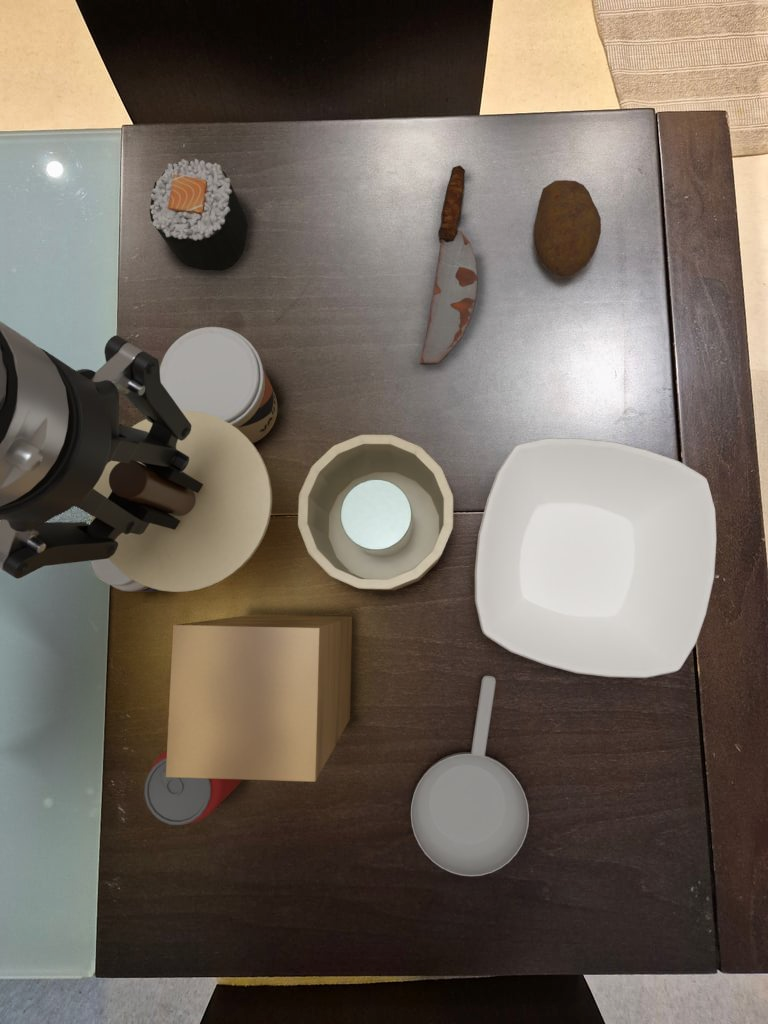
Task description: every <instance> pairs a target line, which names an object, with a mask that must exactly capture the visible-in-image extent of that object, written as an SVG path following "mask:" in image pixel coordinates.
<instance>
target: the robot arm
mask: <svg viewBox="0 0 768 1024" xmlns="http://www.w3.org/2000/svg"><path fill="white" fill-rule="evenodd" d="M104 357H105V363H103V365H101V367H100V368H99V369H98V370H96V371H94V370H92V369H88V368H81V369H77V370H76V369H74V368H73V367H71V366H70V365H68V364H66V363H65V362H63V361H62V360H61V359H59V358H57V357H55V356H54V355H53V354H51V353H49V352H48V351H46V350H45V349H44V348H41V347H39V346H38V345H37V344H35V343H34V342H33V341H31V340H30V339H29V338H27V337H26V336H24V335H23V334H21V333H19V332H18V331H17V330H15V329H13V328H12V327H10V326H9V325H7V324H6V323H4V322H2V321H1V320H0V569H1V570H2V571H3V572H5V573H7V574H8V575H10V576H11V577H13V578H14V579H16V580H17V579H18V580H19V579H22V578H23V577H25V576H27V575H29V574H32V573H34V572H36V571H38V570H39V569H41V568H43V567H48V566H55V565H64V564H65V565H66V564H73V563H83V562H90V561H92V560H101V559H108V558H110V557H111V556H113V555H114V553H115V552H116V549H117V547H118V542H116V541H115V539H116V538H117V537H118V536H119V535H120V534H121V533H124V534H129V533H134V534H138V535H140V534H142V533H144V531H145V530H146V528H147V527H148V525H149V524H150V523H151V524H155V525H159V526H163V527H166V528H170V529H174V530H175V529H176V528H177V526H178V524H179V523H180V520H178V519H177V518H175V517H173V516H172V515H170V514H168V513H166V512H163V511H160V510H157V509H154V508H151V507H148V506H144V505H141V504H138V503H135V502H132V501H129V500H126V499H123V498H120V497H118V496H117V495H115V494H114V493H113V492H111V494H110V495H109V497H108V499H107V498H106V497H105V496H103V495H102V494H100V493H99V492H97V491H96V490H94V489H93V488H94V486H95V485H96V484H97V482H98V481H99V479H100V477H101V475H102V473H103V471H104V469H105V467H106V465H107V463H108V462H110V461H117V462H123V463H129V461H130V460H131V461H137V462H141V463H142V464H144V465H145V466H147V467H149V468H151V469H153V470H154V471H155V472H157V473H159V474H160V475H162V476H164V477H165V478H167V479H169V480H171V481H173V482H175V483H177V484H179V485H182V486H184V487H186V488H188V489H190V490H192V491H194V492H197V493H198V492H199V491H200V489H201V488H202V486H203V484H202V483H200V482H199V481H197V480H195V479H194V478H192V477H191V476H189V475H187V474H186V473H184V472H182V471H183V470H184V469H185V468H186V466H187V465H188V463H189V457H188V456H187V455H185V454H183V453H182V452H180V451H179V450H177V449H176V444H177V441H178V439H179V440H181V441H182V440H184V439H185V438H186V437H187V436H188V435H189V434H190V431H191V424H190V422H189V421H188V420H187V418H186V417H185V415H184V414H183V413H182V411H181V410H180V408H179V407H178V406H177V404H176V403H175V402H174V400H173V399H172V397H171V396H170V395H169V393H168V392H167V390H166V389H165V388H164V386H163V385H162V383H161V380H160V361H159V359H158V358H157V357H155V356H153V355H151V354H149V353H148V352H146V351H145V350H143V349H142V348H140V347H138V346H137V345H135V344H133V343H131V342H129V341H128V340H126V339H124V338H122V337H121V336H120V335H113V336H111V337H110V338H109V339H108V341H107V342H106V344H105V347H104ZM120 392H121V393H123V394H124V395H125V397H126V398H127V399H128V400H129V401H130V402H131V404H133V406H134V407H135V408H136V409H137V410H138V412H139V413H141V415H142V416H143V417H144V418H145V419H147V420H148V421H149V422H151V423H152V427H151V429H150V431H149V433H148V432H147V431H143V430H139V429H136V428H132V427H133V426H128V425H124V424H121V423H120V394H119V393H120ZM74 507H76V508H78V509H80V510H81V511H83V512H85V513H87V514H88V515H90V516H91V515H92V516H94V517H96V518H95V519H94V520H93V521H92V520H91V522H90V523H87V522H86V521H61V522H60V521H57V522H55V521H53V522H51V521H50V520H51V519H53V518H55V517H56V516H59V515H61V514H64V513H65V512H67V511H69V510H71V509H72V508H74Z"/></svg>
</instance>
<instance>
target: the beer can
mask: <svg viewBox="0 0 768 1024" xmlns="http://www.w3.org/2000/svg"><path fill="white" fill-rule="evenodd" d="M166 760H167V749H166V750H164V751H162V753H160V754H159V756H157V758H156V759H155V760H154V762H153V763H152V765H151V767H150V770H149V772H148V773H147V777H146V780H145V782H144V790H143V792H144V795H143V796H144V799H145V803H146V806H147V808H148V809H149V811H150V813H151V814H152V815H153V816H154V817H155V818H156V819H157V820H158V821H160V822H162V823H164V824H167V825H169V826H183V825H189V824H193V823H196V822H199V821H202V820H204V819H205V818H206V817H208V816H209V815H211V814H212V813H213V812H214V811H215V810H216V809H217V808H218V807H219V806H220V805H221V804H222V803H223V802H224V800H225V799H226V798H227V797H228V796H229V795H230V794H231V793H232V792H233V791H234V790H235V789H236V788H237V787H238V786H239V785H240V783H241V782H242V780H241V779H208V778H176V777H166Z"/></svg>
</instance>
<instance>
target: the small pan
mask: <svg viewBox="0 0 768 1024" xmlns="http://www.w3.org/2000/svg"><path fill="white" fill-rule="evenodd" d="M496 680H497V679H496V677H494V676H492V675H487V674H486V675H484V676H482V679H481V684H480V691H479V697H478V705H477V711H476V718H475V725H474V730H473V738H472V743H471V751H463V752H462V751H461V752H455V753H451V754H448V755H446V756H444V757H442V758H440V759H438V760H437V761H435V762H434V763H433V764H431V766H429V767H428V769H427V770H426V771H424V773H423V775H422V776H421V777H420V778H419V781H418V782H417V785H416V787H415V789H414V792H413V796H412V800H411V805H410V806H411V807H410V820H411V828H412V831H413V835H414V837H415V839H416V841H417V844H418V846H419V847H420V848H421V850H422V851H423V853H424V855H426V857H428V859H429V860H430V861H431V862H432V863H434V864H435V865H437V866H438V867H439V868H441V869H443V870H445V871H446V872H449V873H451V874H454V875H458V876H462V877H463V876H464V877H479V876H480V877H481V876H485V875H488V874H492V873H494V872H496V871H499V870H500V869H502V868H503V867H505V866H506V865H507V864H509V863H510V862H511V861H512V860H513V859H514V857H516V856H517V854H518V852H519V851H520V849H521V848H522V847H523V844H524V842H525V839H526V837H527V833H528V829H529V823H530V822H529V820H530V811H529V804H528V803H529V802H528V800H527V797H526V793H525V791H524V788H523V787H522V785H521V783H520V782H519V780H518V779H517V778H516V776H515V775H514V774H513V773H512V772H511V770H509V768H507V767H506V766H505V765H504V764H503V763H501V762H500V761H499V760H497V759H495V758H493V757H491V756H488V755H487V754H486V751H487V745H488V737H489V731H490V724H491V717H492V711H493V703H494V697H495V690H496V684H497V681H496Z"/></svg>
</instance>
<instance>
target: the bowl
mask: <svg viewBox="0 0 768 1024" xmlns="http://www.w3.org/2000/svg"><path fill="white" fill-rule="evenodd" d="M491 485H492V486H491V488H490V491H489V494H488V496H487V499H486V503H485V506H484V510H483V514H482V518H481V522H480V526H479V530H478V534H477V543H476V551H475V552H476V553H475V562H474V603H475V607H476V612H477V616H478V617H477V618H478V621H479V626H480V630H481V632H482V634H483V635H485V637H487V638H488V639H490V640H491V641H493V642H494V643H496V644H497V645H498V646H500V647H502V648H503V649H505V650H507V651H508V652H510V653H512V654H515V655H518V656H520V657H523V658H526V659H528V660H531V661H533V662H536V663H539V664H541V665H545V666H548V667H551V668H554V669H555V668H556V669H559V670H563V671H566V672H570V673H572V674H573V673H574V674H577V675H578V674H579V675H588V676H596V677H605V678H625V679H626V678H628V679H635V678H636V679H648V678H653V677H659V676H663V675H667V674H673V673H676V672H678V671H680V669H682V667H683V666H684V664H685V662H686V660H687V659H688V658H689V655H690V654H691V652H692V650H693V649H694V648H695V646H696V644H697V642H698V639H699V636H700V633H701V630H702V627H703V625H704V622H705V619H706V615H707V612H708V607H709V604H710V603H709V602H710V598H711V594H712V589H713V584H714V580H715V572H716V557H717V556H716V555H717V539H718V538H717V537H718V536H717V519H716V518H717V515H716V507H715V504H714V499H713V496H712V492H711V489H710V488H711V487H710V485H709V482H708V479H707V477H705V476H704V475H703V474H701V473H699V472H697V471H696V470H695V469H693V468H692V467H689V466H688V465H686V464H684V463H683V462H681V461H679V460H677V459H674V458H672V457H668V456H665V455H663V454H660V453H656V452H654V451H651V450H648V449H645V448H640V447H637V446H633V445H629V444H624V443H621V442H617V441H611V440H601V439H590V438H581V437H580V438H578V437H577V438H576V437H575V438H573V437H570V438H569V437H567V438H566V437H545V438H540V439H536V440H531V441H526V442H522V443H518V444H516V445H514V446H513V447H512V448H511V450H510V451H509V453H508V454H507V457H506V458H505V459H504V461H503V463H502V464H501V466H500V468H499V469H498V470H497V472H496V475H495V478H494V480H493V483H492V484H491Z"/></svg>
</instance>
